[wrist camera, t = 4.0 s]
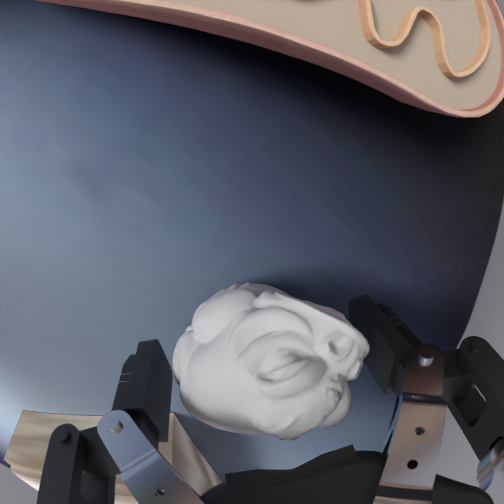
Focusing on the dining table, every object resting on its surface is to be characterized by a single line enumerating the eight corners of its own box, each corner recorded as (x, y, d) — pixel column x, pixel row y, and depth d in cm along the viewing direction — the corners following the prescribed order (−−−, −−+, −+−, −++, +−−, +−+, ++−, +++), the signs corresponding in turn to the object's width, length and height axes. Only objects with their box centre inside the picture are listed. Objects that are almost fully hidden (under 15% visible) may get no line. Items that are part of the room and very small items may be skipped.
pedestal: (22, 410, 15) (2, 465, 9) (173, 412, 16) (171, 495, 10) (103, 483, 20) (98, 525, 15) (224, 483, 21) (230, 533, 16)
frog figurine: (341, 300, 14) (413, 404, 8) (235, 375, 15) (253, 489, 9) (266, 209, 12) (335, 304, 5) (148, 311, 13) (119, 441, 6)
